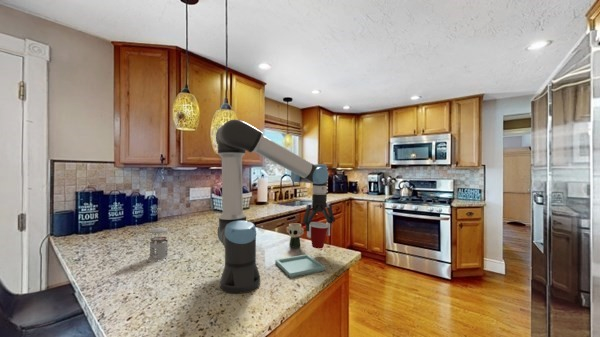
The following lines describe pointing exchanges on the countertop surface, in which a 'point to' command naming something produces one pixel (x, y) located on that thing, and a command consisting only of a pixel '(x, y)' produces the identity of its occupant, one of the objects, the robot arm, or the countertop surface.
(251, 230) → the robot arm
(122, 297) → the countertop surface
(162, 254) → the french press
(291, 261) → the tray
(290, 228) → the character mug
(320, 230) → the plastic cup
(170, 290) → the countertop surface
